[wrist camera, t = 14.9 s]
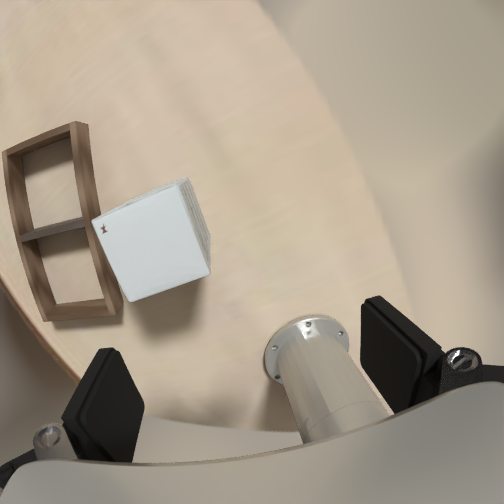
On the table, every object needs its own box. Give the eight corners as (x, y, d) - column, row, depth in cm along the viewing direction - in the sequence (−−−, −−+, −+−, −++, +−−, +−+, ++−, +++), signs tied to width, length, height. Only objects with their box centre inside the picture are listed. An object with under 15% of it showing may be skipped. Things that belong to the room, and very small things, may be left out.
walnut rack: (123, 301, 34) (116, 315, 31) (54, 309, 33) (43, 321, 30) (88, 124, 27) (75, 120, 24) (17, 151, 26) (1, 151, 23)
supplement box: (154, 256, 33) (126, 306, 21) (131, 198, 31) (87, 218, 19) (212, 235, 33) (212, 277, 21) (190, 174, 31) (177, 181, 19)
